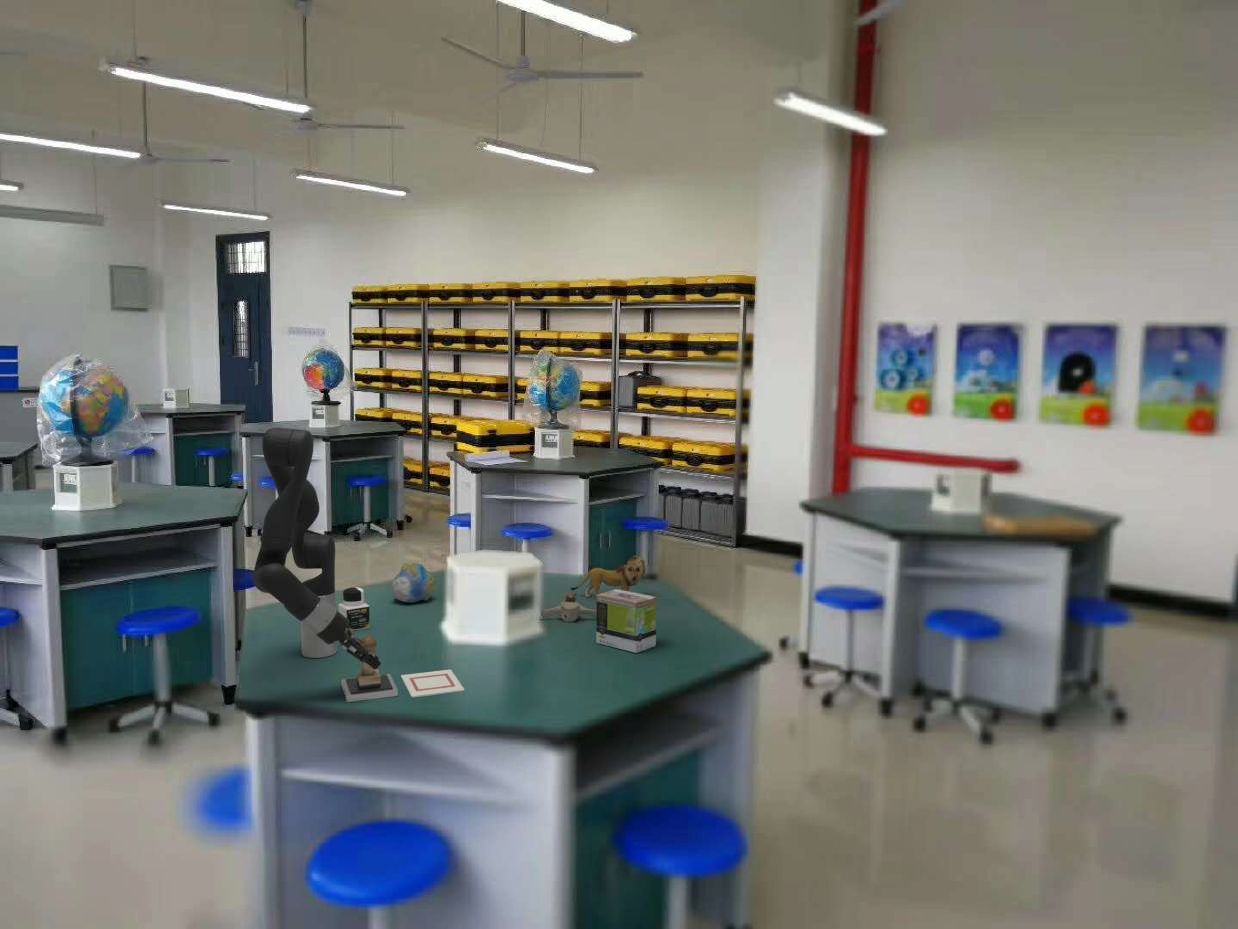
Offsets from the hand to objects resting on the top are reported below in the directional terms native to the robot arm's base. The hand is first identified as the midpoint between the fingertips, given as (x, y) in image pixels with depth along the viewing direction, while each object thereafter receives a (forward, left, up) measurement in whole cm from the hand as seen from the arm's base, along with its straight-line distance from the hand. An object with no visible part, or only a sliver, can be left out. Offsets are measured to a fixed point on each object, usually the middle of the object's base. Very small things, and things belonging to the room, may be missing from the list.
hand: (377, 663), depth 238 cm
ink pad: (0, -2, -7) cm, 7 cm away
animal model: (-63, +86, -7) cm, 107 cm away
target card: (0, +13, -7) cm, 15 cm away
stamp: (0, -2, -5) cm, 5 cm away
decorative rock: (-82, +23, -7) cm, 85 cm away
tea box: (-13, +72, -7) cm, 73 cm away
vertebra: (-43, +66, -7) cm, 79 cm away
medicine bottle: (-57, +1, -7) cm, 57 cm away
